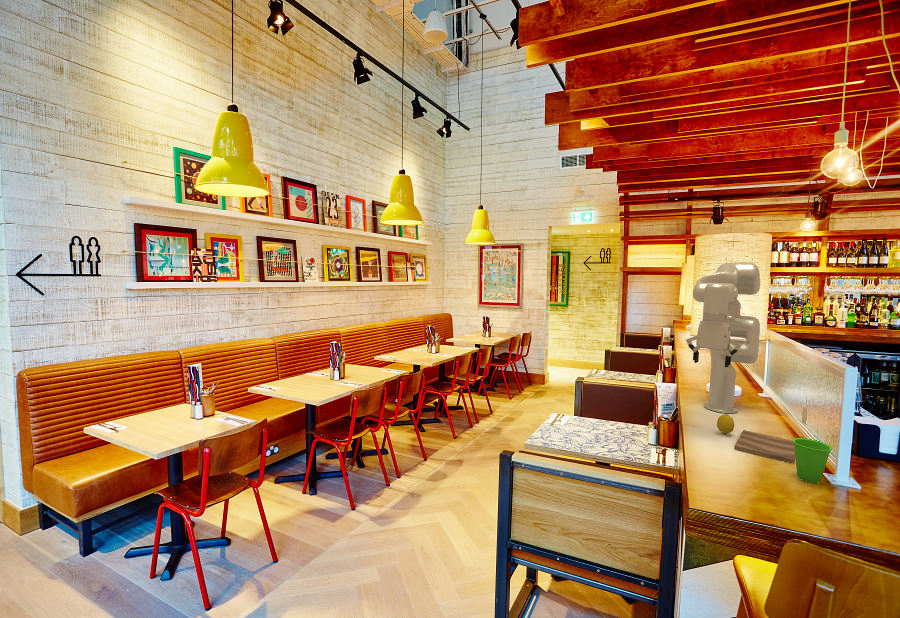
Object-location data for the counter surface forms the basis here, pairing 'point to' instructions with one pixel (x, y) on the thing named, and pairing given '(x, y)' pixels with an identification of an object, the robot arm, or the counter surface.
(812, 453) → the cup
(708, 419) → the counter surface
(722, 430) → the lemon
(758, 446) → the serving board
